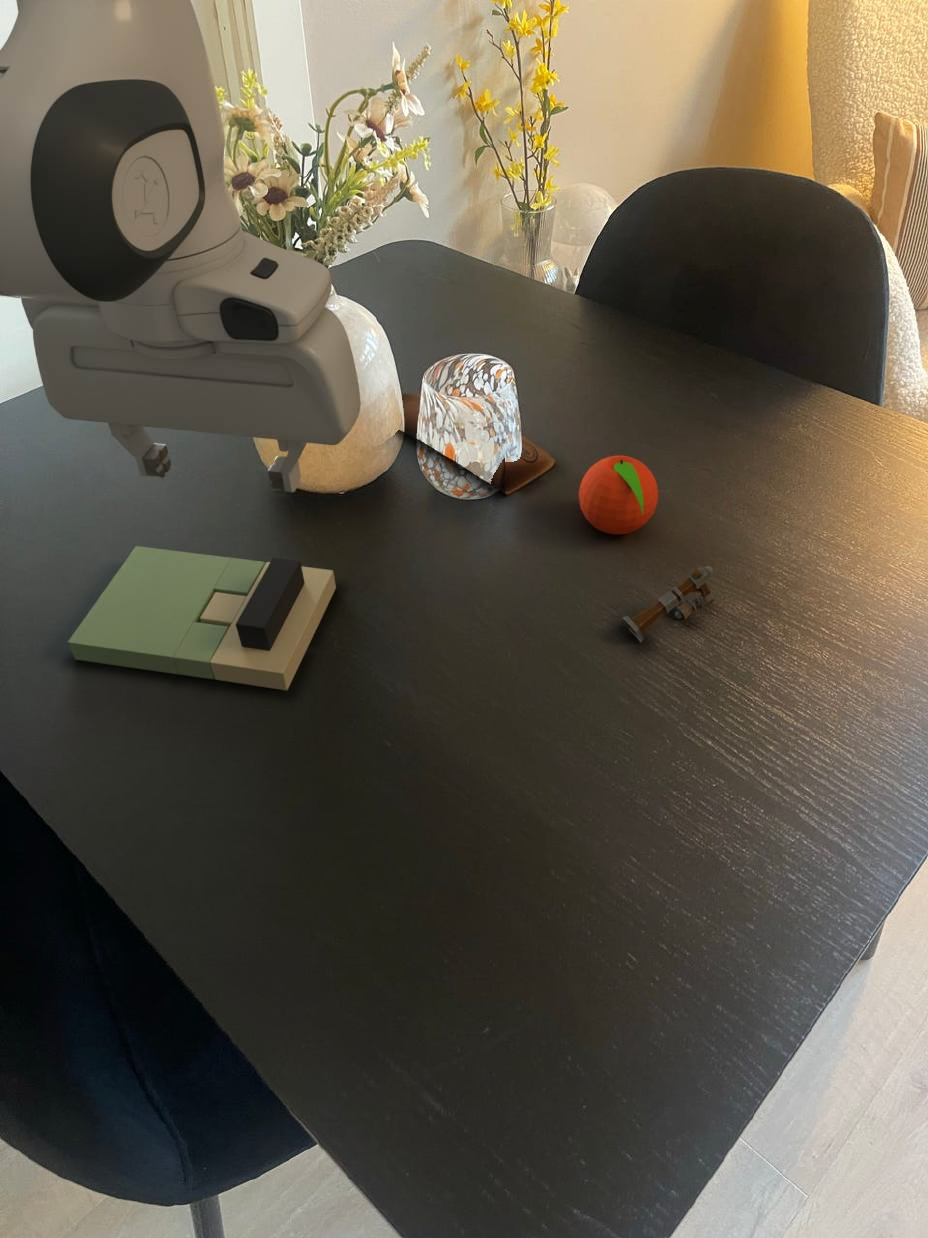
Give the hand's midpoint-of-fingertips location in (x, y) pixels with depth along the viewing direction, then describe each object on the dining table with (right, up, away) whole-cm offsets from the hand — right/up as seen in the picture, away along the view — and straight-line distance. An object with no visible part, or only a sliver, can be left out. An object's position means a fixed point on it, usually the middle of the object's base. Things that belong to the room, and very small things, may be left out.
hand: (221, 479), depth 65 cm
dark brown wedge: (+17, +8, +32) cm, 37 cm away
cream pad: (0, -10, +14) cm, 17 cm away
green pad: (-8, -9, +15) cm, 19 cm away
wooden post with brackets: (+33, -10, +13) cm, 37 cm away
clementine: (+30, -2, +22) cm, 37 cm away
